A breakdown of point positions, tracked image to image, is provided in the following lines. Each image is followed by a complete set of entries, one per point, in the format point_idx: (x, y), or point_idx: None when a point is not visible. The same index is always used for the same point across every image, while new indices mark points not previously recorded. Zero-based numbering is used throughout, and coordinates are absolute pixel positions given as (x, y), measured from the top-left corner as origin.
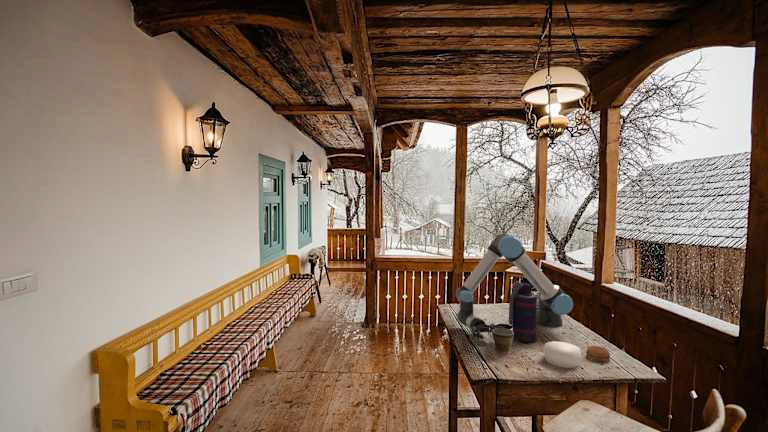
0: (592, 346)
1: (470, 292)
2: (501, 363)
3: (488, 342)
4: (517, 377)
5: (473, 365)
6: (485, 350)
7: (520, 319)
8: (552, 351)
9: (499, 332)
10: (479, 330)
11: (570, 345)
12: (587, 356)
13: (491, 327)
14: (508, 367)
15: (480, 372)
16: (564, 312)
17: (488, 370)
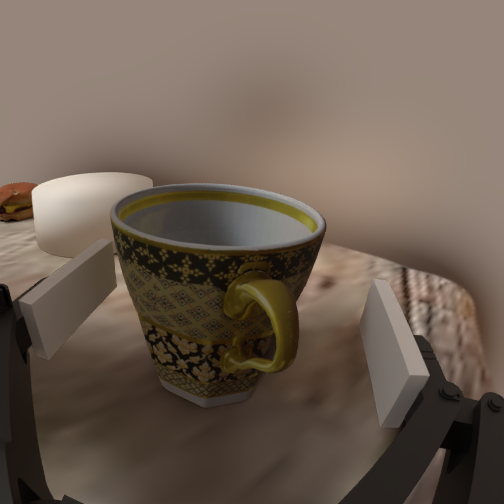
0: (2, 191)
1: None
2: (335, 298)
3: (360, 324)
4: (339, 246)
5: (466, 326)
6: (330, 434)
7: None
8: (151, 185)
9: (161, 287)
10: (392, 461)
11: (53, 183)
12: (25, 217)
13: (15, 450)
14: (327, 276)
15: (448, 292)
16: None
17: (417, 290)
